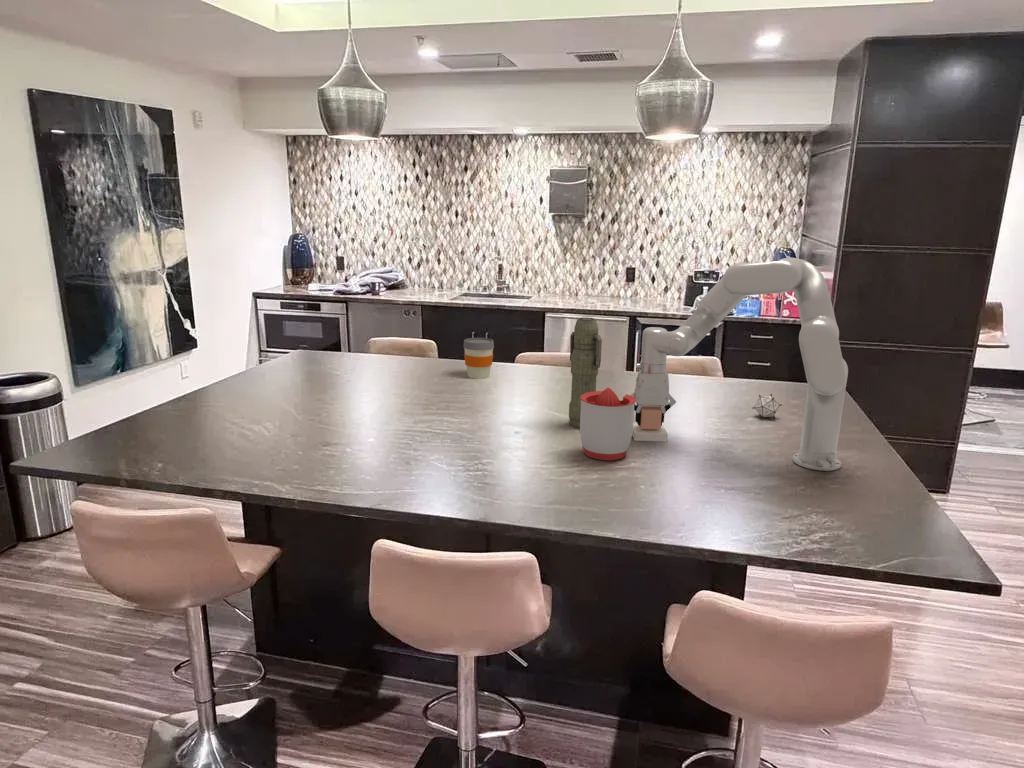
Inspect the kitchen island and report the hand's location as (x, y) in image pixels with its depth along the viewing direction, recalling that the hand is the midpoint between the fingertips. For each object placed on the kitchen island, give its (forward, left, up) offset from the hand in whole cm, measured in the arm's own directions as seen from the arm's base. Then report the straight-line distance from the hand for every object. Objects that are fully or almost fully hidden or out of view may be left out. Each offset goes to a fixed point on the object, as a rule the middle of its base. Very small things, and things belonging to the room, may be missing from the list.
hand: (649, 423), depth 221 cm
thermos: (+10, +20, -4) cm, 23 cm away
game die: (+23, -44, -4) cm, 50 cm away
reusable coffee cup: (+73, +58, -4) cm, 93 cm away
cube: (0, 0, -1) cm, 1 cm away
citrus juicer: (-17, +15, -4) cm, 23 cm away
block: (0, 0, -4) cm, 4 cm away
